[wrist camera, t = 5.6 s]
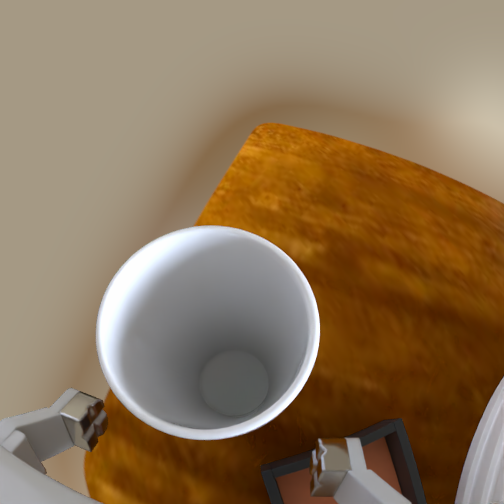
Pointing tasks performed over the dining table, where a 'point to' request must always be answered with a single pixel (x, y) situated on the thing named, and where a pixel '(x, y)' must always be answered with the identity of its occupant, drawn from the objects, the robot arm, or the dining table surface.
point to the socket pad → (376, 458)
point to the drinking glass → (207, 332)
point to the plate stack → (485, 457)
